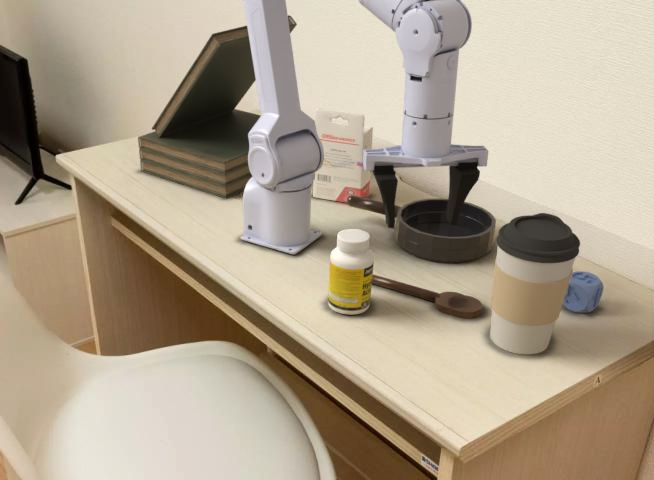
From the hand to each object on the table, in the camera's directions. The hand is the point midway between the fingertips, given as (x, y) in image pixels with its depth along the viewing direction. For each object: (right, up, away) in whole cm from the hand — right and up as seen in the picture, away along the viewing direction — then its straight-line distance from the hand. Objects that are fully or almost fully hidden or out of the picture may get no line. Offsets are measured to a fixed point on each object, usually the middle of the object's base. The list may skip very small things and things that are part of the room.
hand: (420, 223), depth 98 cm
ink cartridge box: (-8, +9, +34) cm, 36 cm away
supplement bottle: (-9, -10, +4) cm, 14 cm away
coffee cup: (+11, -14, -2) cm, 18 cm away
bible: (-29, +16, +45) cm, 56 cm away
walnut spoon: (0, -9, +6) cm, 11 cm away
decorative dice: (+21, -10, +5) cm, 24 cm away
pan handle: (-4, +5, +24) cm, 24 cm away
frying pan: (+6, 0, +20) cm, 21 cm away
